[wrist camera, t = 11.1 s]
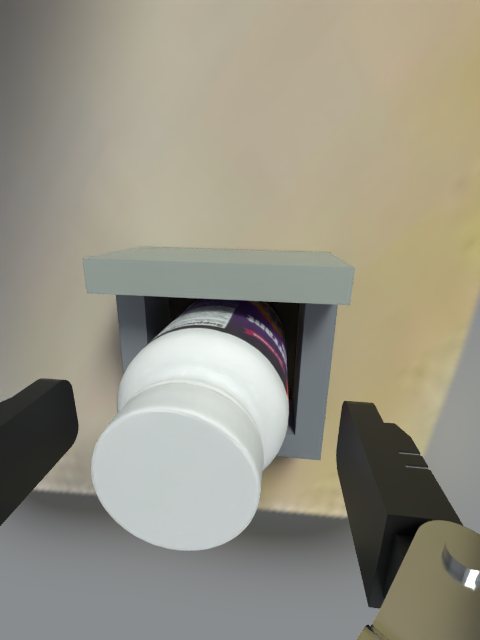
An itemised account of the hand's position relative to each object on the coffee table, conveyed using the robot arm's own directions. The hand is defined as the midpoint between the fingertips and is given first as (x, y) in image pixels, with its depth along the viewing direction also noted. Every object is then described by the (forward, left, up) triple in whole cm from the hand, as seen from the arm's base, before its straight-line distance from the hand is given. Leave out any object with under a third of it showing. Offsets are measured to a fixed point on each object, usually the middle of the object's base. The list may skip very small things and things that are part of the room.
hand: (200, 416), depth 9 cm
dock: (0, 0, -7) cm, 7 cm away
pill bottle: (0, 0, -8) cm, 8 cm away
